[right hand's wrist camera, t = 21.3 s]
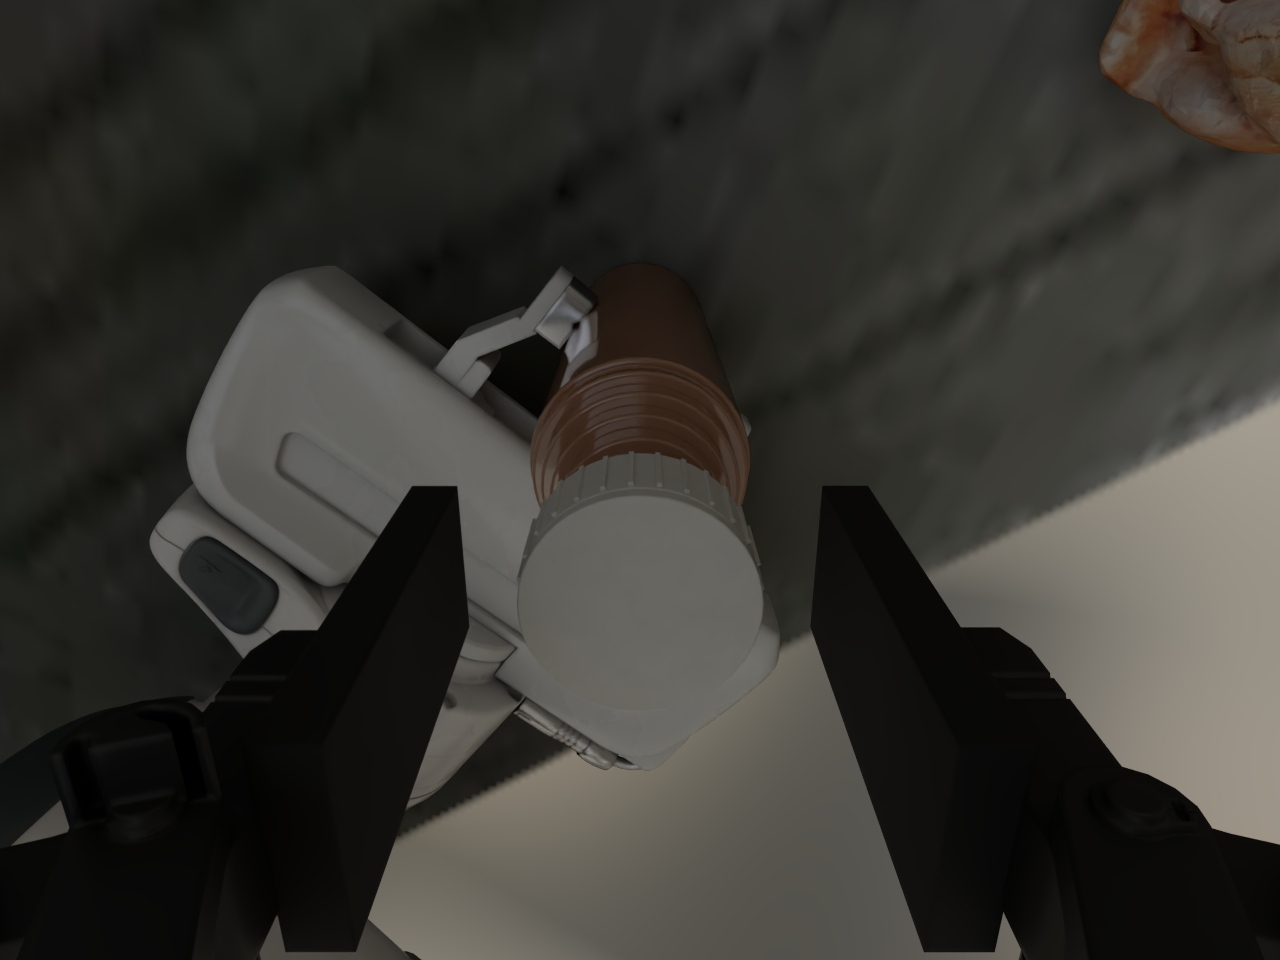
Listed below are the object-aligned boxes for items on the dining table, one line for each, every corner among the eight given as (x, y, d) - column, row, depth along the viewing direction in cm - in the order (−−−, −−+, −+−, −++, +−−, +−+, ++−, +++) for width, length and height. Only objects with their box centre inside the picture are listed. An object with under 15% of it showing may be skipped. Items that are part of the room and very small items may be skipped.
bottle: (677, 242, 31) (734, 397, 12) (721, 363, 33) (830, 660, 14) (555, 291, 32) (435, 508, 13) (605, 407, 34) (560, 747, 15)
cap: (766, 631, 15) (782, 694, 14) (555, 665, 16) (544, 731, 14) (734, 430, 14) (748, 470, 12) (503, 471, 14) (484, 517, 12)
